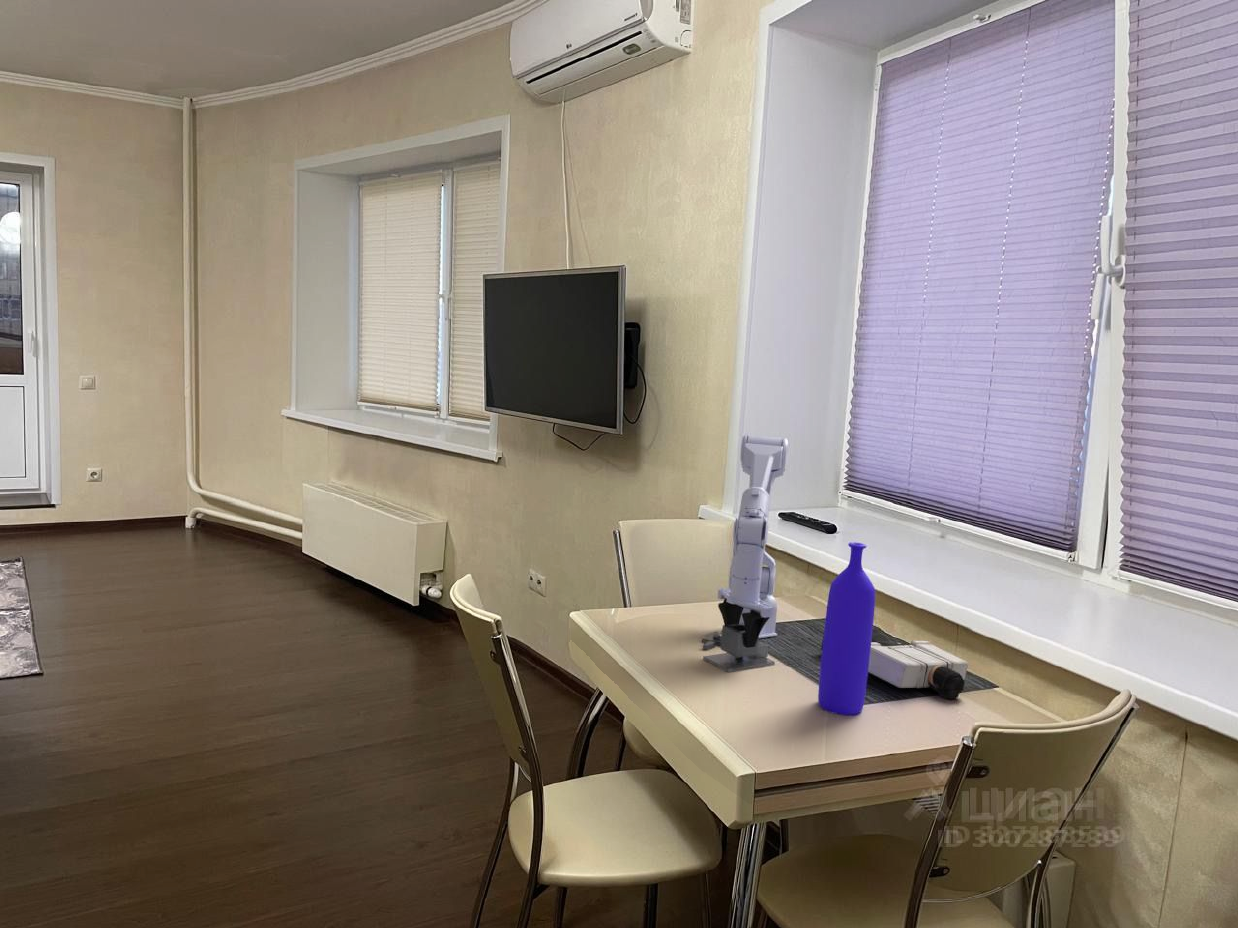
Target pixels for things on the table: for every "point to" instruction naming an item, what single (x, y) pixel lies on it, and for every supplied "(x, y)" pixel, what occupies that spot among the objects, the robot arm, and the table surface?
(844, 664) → the bottle
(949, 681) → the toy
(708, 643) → the gray t-shaped latch
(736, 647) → the gray hollow cube
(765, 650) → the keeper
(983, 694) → the table surface
